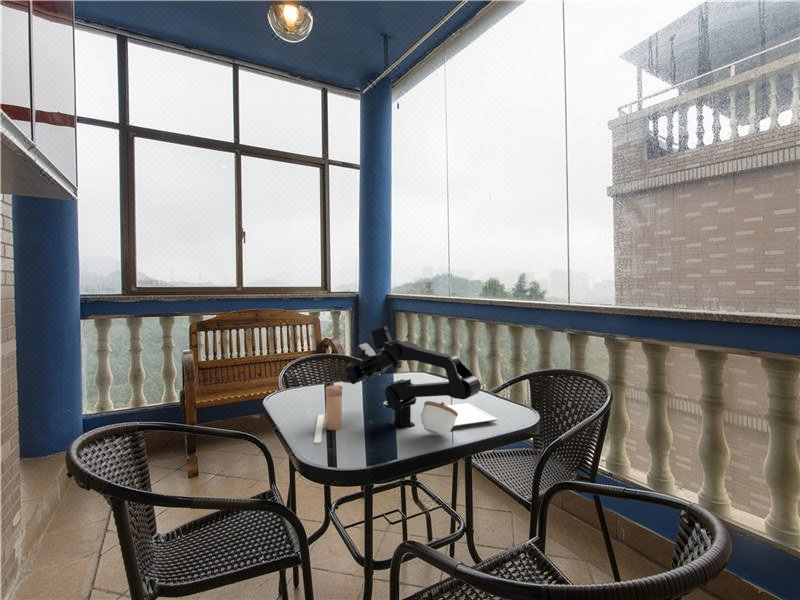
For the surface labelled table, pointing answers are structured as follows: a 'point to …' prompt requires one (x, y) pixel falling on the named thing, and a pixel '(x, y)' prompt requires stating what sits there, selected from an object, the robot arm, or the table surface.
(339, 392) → the tumbler
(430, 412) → the white rounded piece
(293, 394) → the table surface
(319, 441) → the line
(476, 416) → the plate
